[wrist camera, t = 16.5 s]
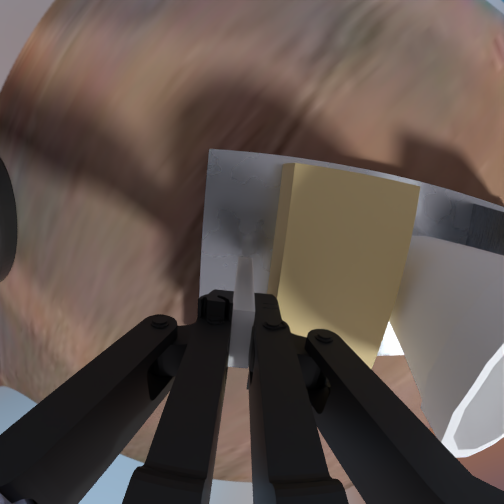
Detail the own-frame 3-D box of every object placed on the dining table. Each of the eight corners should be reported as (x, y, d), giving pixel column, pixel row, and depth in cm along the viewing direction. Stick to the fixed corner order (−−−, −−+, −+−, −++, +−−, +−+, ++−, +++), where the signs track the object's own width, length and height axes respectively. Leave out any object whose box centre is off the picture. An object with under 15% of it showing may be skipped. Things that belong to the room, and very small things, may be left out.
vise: (201, 333, 23) (181, 398, 15) (212, 149, 19) (185, 141, 11) (467, 341, 23) (505, 383, 16) (506, 209, 19) (562, 227, 12)
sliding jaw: (259, 346, 21) (259, 403, 15) (283, 163, 17) (295, 162, 11) (336, 351, 21) (356, 404, 15) (374, 178, 17) (420, 186, 12)
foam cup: (454, 314, 20) (544, 406, 8) (359, 344, 21) (421, 481, 8) (457, 204, 18) (595, 256, 5) (349, 225, 18) (477, 326, 6)
